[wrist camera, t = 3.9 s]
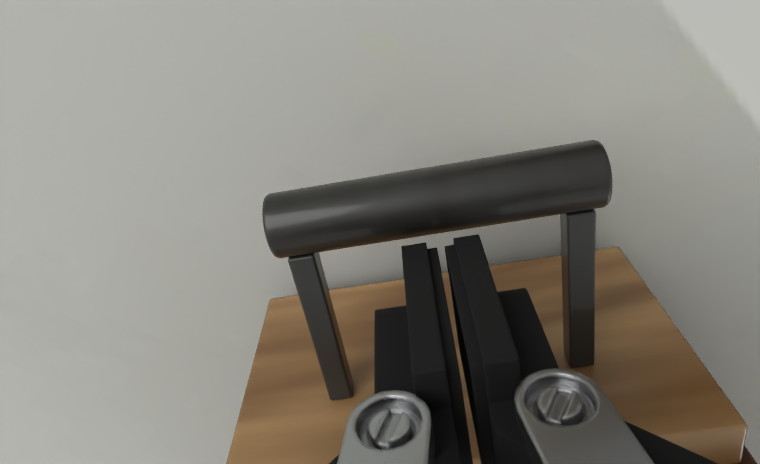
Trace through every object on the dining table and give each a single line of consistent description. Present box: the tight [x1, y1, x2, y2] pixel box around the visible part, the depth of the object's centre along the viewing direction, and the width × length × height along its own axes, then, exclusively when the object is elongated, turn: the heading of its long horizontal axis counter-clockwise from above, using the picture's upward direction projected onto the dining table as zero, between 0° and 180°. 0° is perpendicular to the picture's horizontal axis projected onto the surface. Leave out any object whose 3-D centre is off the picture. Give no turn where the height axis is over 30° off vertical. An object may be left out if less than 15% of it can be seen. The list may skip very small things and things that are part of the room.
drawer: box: [226, 140, 747, 464], centre depth 17 cm, size 19×11×7 cm, turn 10°
